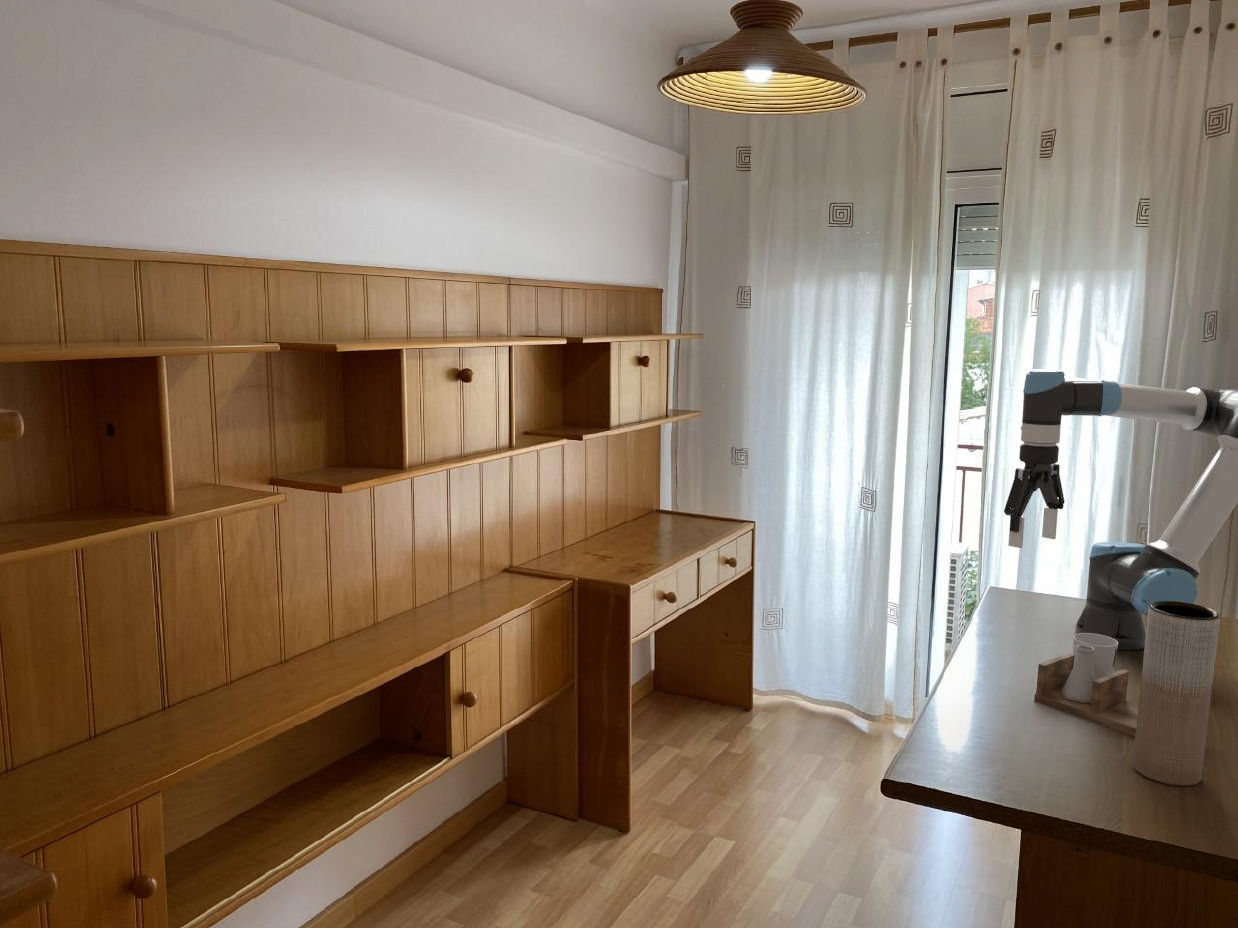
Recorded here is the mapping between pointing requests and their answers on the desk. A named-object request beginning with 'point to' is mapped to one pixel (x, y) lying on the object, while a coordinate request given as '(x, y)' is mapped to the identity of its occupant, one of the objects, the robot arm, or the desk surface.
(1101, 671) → the cup
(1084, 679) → the flask
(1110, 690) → the rack
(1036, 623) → the desk surface
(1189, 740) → the vase
